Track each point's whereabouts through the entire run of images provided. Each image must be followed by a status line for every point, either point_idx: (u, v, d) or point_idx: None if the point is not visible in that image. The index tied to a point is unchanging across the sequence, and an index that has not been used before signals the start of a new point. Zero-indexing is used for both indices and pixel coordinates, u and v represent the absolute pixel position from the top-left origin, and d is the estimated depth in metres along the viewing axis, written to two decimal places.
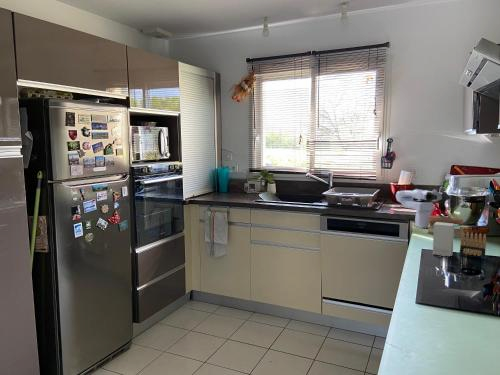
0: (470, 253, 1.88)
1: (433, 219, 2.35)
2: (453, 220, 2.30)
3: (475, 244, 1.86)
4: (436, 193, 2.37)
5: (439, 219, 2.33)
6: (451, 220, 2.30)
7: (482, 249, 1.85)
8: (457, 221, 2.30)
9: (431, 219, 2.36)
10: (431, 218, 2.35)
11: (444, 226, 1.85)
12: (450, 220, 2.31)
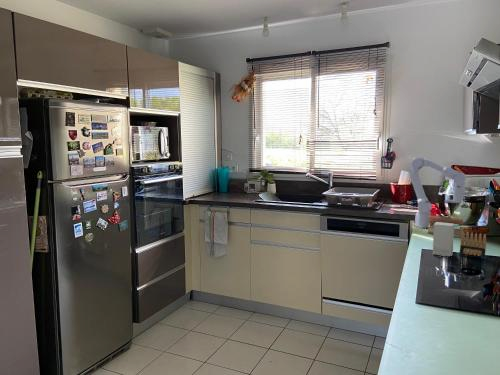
0: (470, 253, 1.88)
1: (433, 219, 2.35)
2: (453, 220, 2.30)
3: (475, 244, 1.86)
4: None
5: (439, 219, 2.33)
6: (451, 220, 2.30)
7: (482, 249, 1.85)
8: (457, 221, 2.30)
9: (431, 219, 2.36)
10: (431, 218, 2.35)
11: (444, 226, 1.85)
12: (450, 220, 2.31)
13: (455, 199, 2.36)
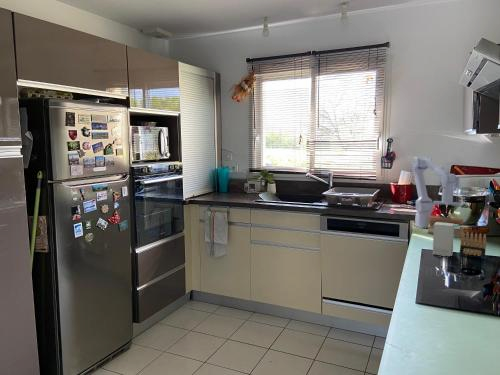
0: (470, 253, 1.88)
1: (433, 219, 2.35)
2: (453, 220, 2.30)
3: (475, 244, 1.86)
4: None
5: (439, 219, 2.33)
6: (451, 220, 2.30)
7: (482, 249, 1.85)
8: (457, 221, 2.30)
9: (431, 219, 2.36)
10: (431, 218, 2.35)
11: (444, 226, 1.85)
12: (450, 220, 2.31)
13: (444, 200, 2.29)
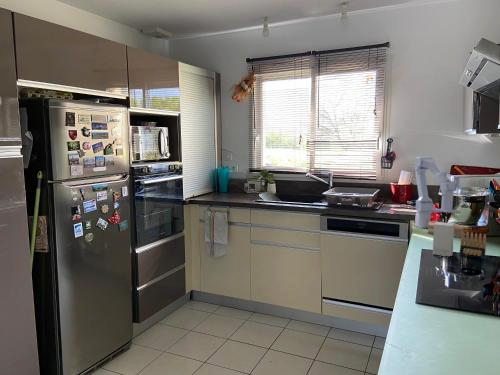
0: (470, 253, 1.88)
1: None
2: None
3: (475, 244, 1.86)
4: None
5: None
6: None
7: (482, 249, 1.85)
8: None
9: None
10: None
11: (444, 226, 1.85)
12: None
13: (443, 208, 2.29)
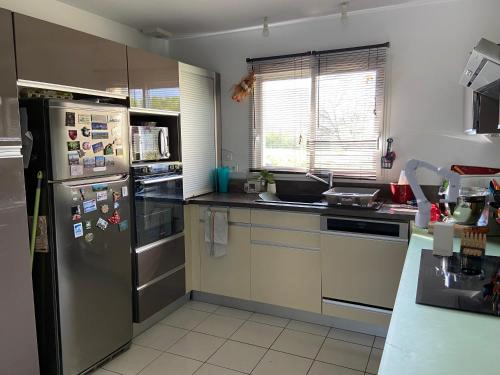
0: (470, 253, 1.88)
1: None
2: None
3: (475, 244, 1.86)
4: None
5: None
6: None
7: (482, 249, 1.85)
8: None
9: None
10: None
11: (444, 226, 1.85)
12: None
13: (450, 198, 2.37)
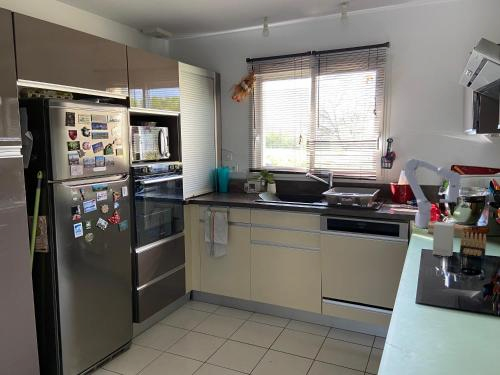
0: (470, 253, 1.88)
1: None
2: None
3: (475, 244, 1.86)
4: None
5: None
6: None
7: (482, 249, 1.85)
8: None
9: None
10: None
11: (444, 226, 1.85)
12: None
13: (450, 198, 2.37)
